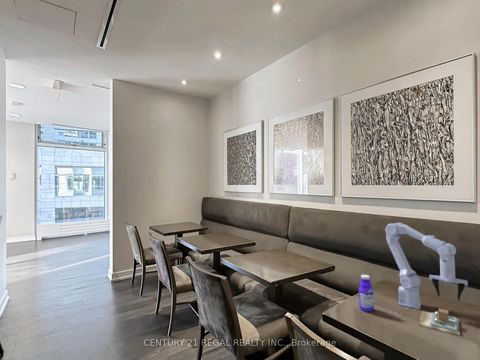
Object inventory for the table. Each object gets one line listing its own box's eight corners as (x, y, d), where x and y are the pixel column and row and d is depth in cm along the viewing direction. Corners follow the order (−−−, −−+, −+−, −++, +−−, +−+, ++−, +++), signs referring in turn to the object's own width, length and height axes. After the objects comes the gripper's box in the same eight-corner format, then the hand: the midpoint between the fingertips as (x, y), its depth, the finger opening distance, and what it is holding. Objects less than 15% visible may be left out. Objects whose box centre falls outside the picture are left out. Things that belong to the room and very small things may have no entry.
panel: (430, 325, 120) (430, 313, 120) (432, 314, 130) (431, 303, 130) (457, 332, 114) (456, 319, 114) (456, 319, 124) (455, 308, 125)
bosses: (434, 325, 120) (434, 319, 120) (435, 315, 129) (434, 310, 129) (442, 327, 118) (441, 321, 118) (442, 317, 127) (442, 312, 127)
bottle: (366, 313, 134) (365, 278, 134) (357, 308, 139) (356, 275, 140) (376, 310, 137) (375, 276, 138) (366, 305, 142) (365, 273, 143)
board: (419, 325, 121) (419, 323, 122) (421, 312, 134) (421, 310, 134) (459, 335, 113) (459, 334, 113) (458, 320, 125) (458, 319, 125)
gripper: (428, 268, 130) (429, 296, 130) (467, 273, 121) (468, 303, 121) (429, 264, 136) (430, 291, 135) (466, 270, 127) (467, 298, 126)
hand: (448, 297), depth 128 cm, fingers open, 7 cm apart
